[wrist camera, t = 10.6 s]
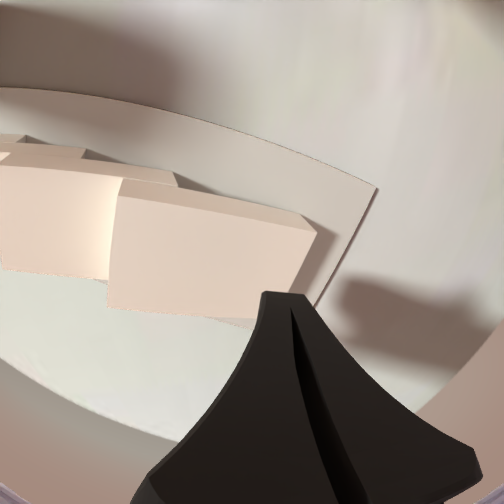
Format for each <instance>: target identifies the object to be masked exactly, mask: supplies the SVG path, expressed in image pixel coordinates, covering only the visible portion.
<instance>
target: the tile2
mask: <svg viewBox="0 0 504 504" xmlns="http://www.w3.org/2000/svg"><path fill="white" fill-rule="evenodd" d="M123 178H127V179H133V180H139V181H145V182H151V183H156V184H162V185H167V186H173V187H178V185H177V182H176V180H175V177H174V175H173V172H172V171H166V170H160V169H154V168H148V167H141V166H135V165H128V164H121V163H113V162H106V161H98V160H89V159H81V158H71V157H61V156H50V155H38V154H25V153H10V154H9V155H8V156H7V157H5V158H4V159H3V160H1V161H0V255H1V262H2V268H3V269H4V270H12V271H20V272H29V273H38V274H47V275H57V276H67V277H78V278H90V279H101V280H108V274H109V261H110V250H111V240H112V232H113V224H114V216H115V209H116V203H117V196H118V193H119V189H120V186H121V183H122V180H123Z"/></svg>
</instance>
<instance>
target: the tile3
mask: <svg viewBox="0 0 504 504" xmlns="http://www.w3.org/2000/svg"><path fill="white" fill-rule="evenodd" d="M10 153H25V154H38V155H50V156H61V157H71V158H81V159H85V154H86V148H78V147H68V146H57V145H45V144H31V143H13V142H0V161H1V160H3V159H4V158H5V157H7V156H8V155H9V154H10Z"/></svg>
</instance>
